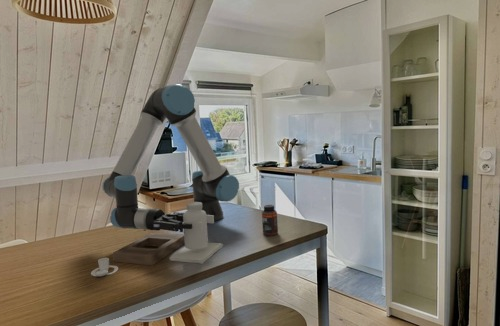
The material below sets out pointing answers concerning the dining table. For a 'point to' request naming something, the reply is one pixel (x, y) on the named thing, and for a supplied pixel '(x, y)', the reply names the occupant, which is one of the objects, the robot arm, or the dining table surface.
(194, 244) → the pill bottle
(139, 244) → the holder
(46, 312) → the dining table surface
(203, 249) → the board
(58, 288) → the dining table surface
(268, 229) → the supplement bottle
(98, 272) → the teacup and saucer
